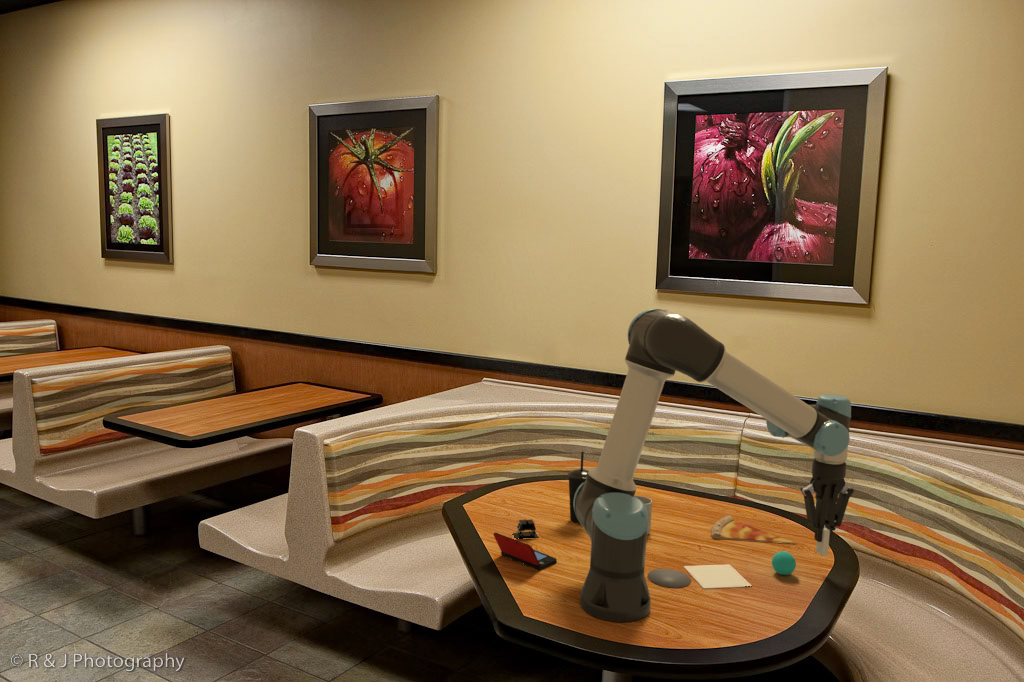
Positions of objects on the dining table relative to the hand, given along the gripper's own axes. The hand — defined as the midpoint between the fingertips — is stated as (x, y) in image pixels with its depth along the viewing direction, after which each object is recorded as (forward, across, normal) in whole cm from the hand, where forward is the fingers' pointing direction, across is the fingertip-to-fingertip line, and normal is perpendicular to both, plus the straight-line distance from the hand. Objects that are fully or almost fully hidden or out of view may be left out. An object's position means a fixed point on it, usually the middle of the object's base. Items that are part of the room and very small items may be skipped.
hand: (821, 553), depth 189 cm
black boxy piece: (+5, +68, -28) cm, 74 cm away
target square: (+5, +27, 0) cm, 27 cm away
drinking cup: (+4, +51, -38) cm, 64 cm away
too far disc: (+4, +39, 0) cm, 39 cm away
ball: (+2, +10, 0) cm, 10 cm away
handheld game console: (+5, +71, -13) cm, 72 cm away
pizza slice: (+5, +9, -23) cm, 25 cm away
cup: (+5, +37, -28) cm, 47 cm away
